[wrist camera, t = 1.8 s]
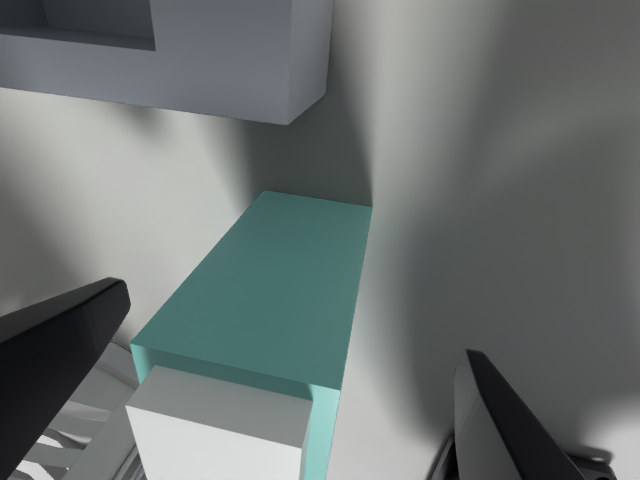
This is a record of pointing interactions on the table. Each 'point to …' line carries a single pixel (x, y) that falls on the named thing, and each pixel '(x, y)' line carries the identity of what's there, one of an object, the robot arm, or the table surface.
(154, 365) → the teal rectangular block
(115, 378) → the french press
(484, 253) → the table surface
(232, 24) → the port block
